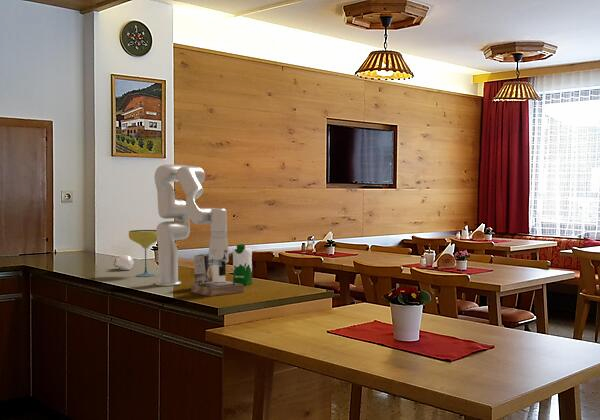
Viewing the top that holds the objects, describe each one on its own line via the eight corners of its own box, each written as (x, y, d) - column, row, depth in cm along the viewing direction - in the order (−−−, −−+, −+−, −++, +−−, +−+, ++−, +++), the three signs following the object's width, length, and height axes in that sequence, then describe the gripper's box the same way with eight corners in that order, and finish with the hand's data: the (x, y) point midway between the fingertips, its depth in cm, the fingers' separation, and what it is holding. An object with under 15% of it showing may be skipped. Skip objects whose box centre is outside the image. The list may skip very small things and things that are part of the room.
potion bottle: (127, 273, 394) (117, 274, 405) (139, 263, 399) (129, 264, 411) (117, 261, 391) (107, 262, 403) (130, 251, 396) (119, 252, 408)
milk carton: (230, 285, 331) (230, 245, 331) (238, 283, 340) (238, 243, 339) (247, 286, 328) (246, 245, 328) (254, 283, 337) (254, 244, 336)
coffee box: (207, 289, 317) (206, 255, 317) (194, 289, 319) (193, 255, 318) (213, 286, 326) (213, 253, 326) (200, 286, 328) (200, 253, 327)
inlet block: (205, 290, 309) (205, 282, 309) (221, 288, 315) (221, 280, 315) (216, 292, 303) (216, 284, 303) (233, 290, 309) (232, 282, 309)
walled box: (191, 292, 308) (191, 284, 308) (223, 288, 320) (223, 281, 320) (210, 296, 296) (210, 288, 296) (243, 292, 308) (243, 284, 308)
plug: (213, 281, 309) (212, 260, 309) (220, 280, 312) (220, 259, 312) (218, 282, 306) (218, 260, 306) (225, 281, 309) (225, 260, 308)
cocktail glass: (143, 273, 384) (142, 229, 383) (169, 274, 376) (168, 230, 375) (122, 276, 367) (121, 231, 367) (148, 278, 360) (148, 232, 359)
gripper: (202, 235, 312) (202, 274, 313) (222, 236, 300) (223, 277, 300) (215, 234, 317) (215, 272, 318) (236, 235, 305) (236, 275, 305)
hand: (219, 274), depth 309 cm, fingers closed on plug, 4 cm apart
